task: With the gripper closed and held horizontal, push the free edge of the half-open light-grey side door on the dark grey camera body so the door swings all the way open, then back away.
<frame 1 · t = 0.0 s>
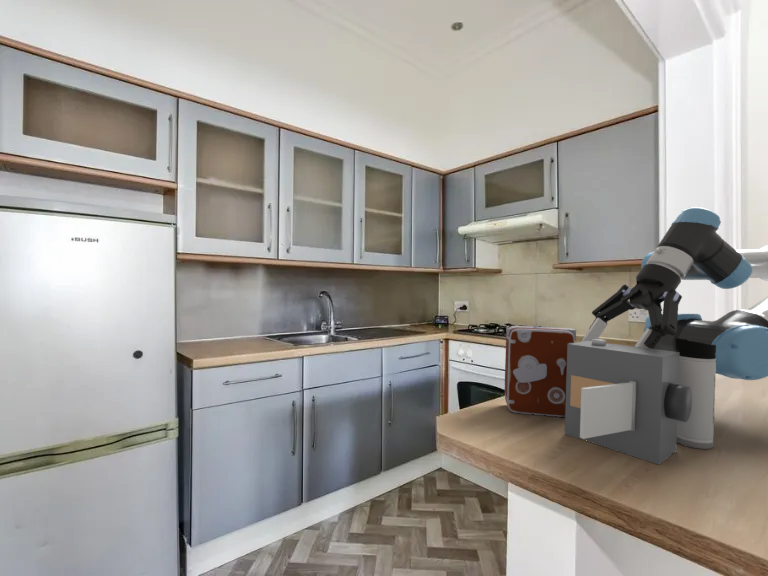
hand: (607, 352, 84), 15 cm above the countertop, tool tilted 35°, fingers open, 14 cm apart
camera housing: (617, 442, 74), on the countertop
red printed tin: (548, 413, 91), on the countertop
travel mug: (690, 443, 75), on the countertop
side door: (609, 409, 65), point 9 cm above the countertop, hinge at 75.0°
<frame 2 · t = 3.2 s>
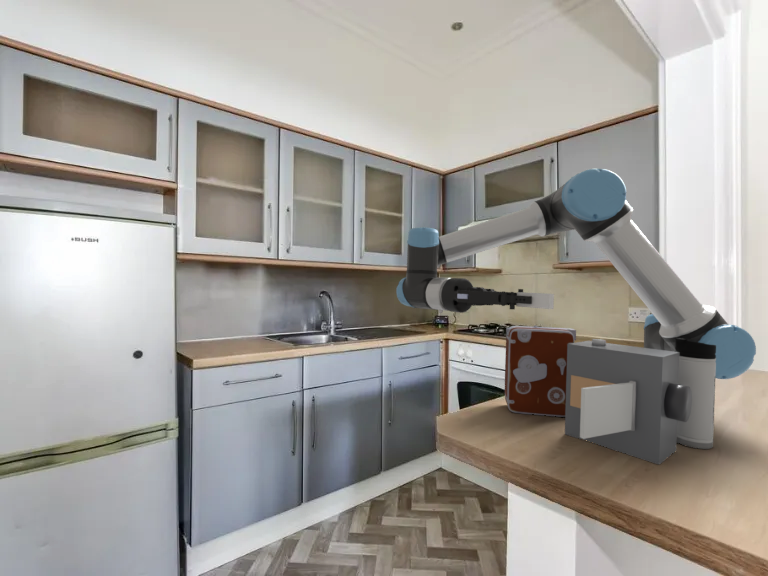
hand: (551, 301, 69), 27 cm above the countertop, tool horizontal, fingers closed
nothing on the countertop moved.
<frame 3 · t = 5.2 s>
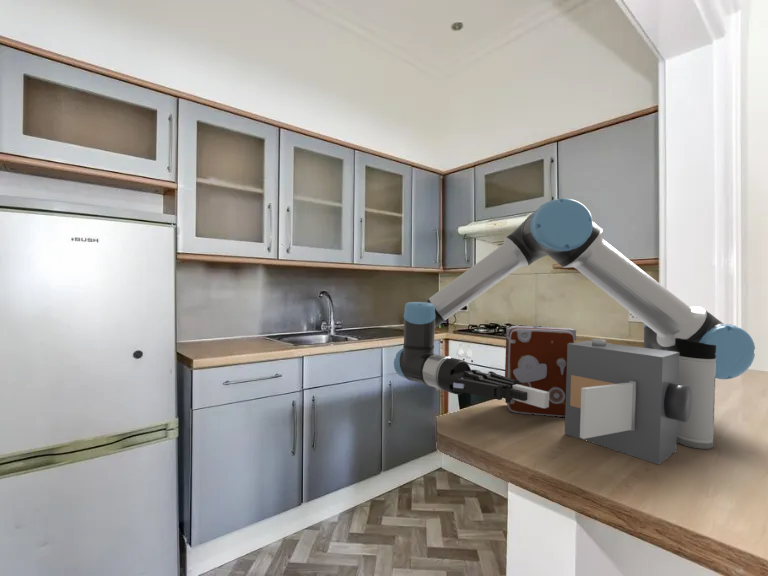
hand: (546, 400, 70), 9 cm above the countertop, tool horizontal, fingers closed
nothing on the countertop moved.
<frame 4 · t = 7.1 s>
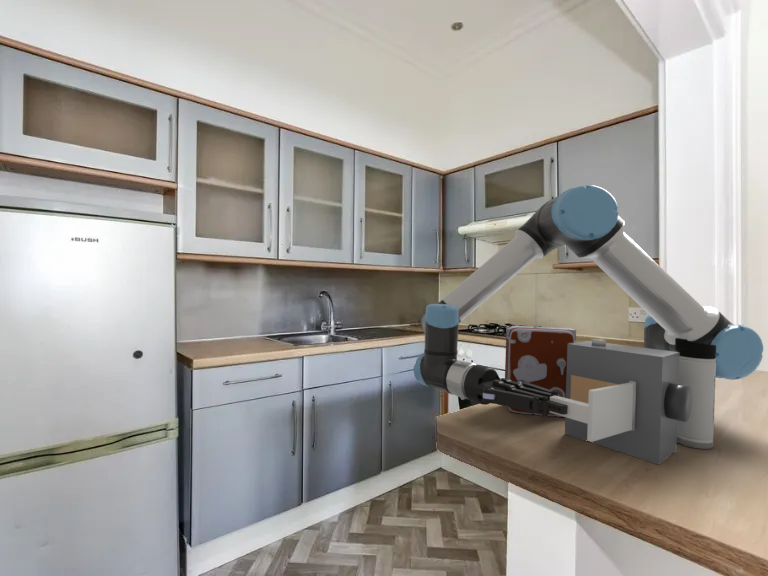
hand: (590, 414, 63), 9 cm above the countertop, tool horizontal, fingers closed
side door: (612, 410, 65), point 9 cm above the countertop, hinge at 81.4°, touching gripper
everything else where it was.
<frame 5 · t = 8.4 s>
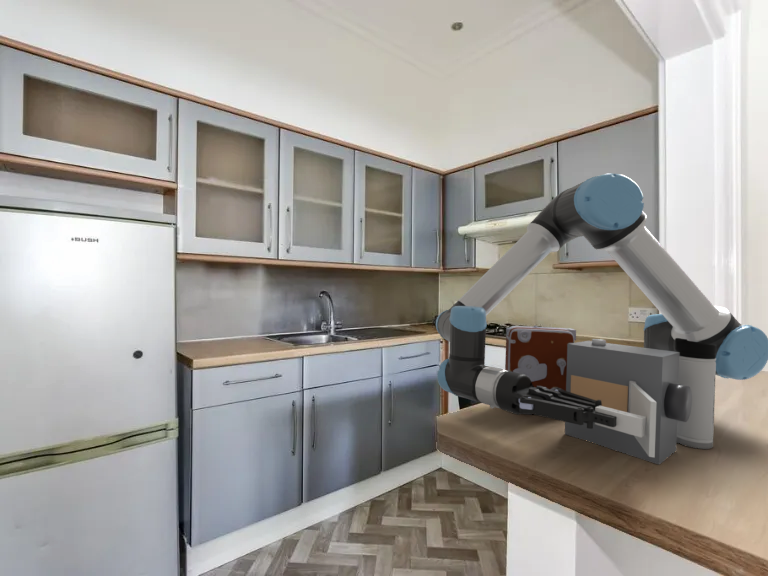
hand: (643, 427, 57), 9 cm above the countertop, tool horizontal, fingers closed
side door: (640, 416, 62), point 9 cm above the countertop, hinge at 121.3°, touching gripper
everything else where it was.
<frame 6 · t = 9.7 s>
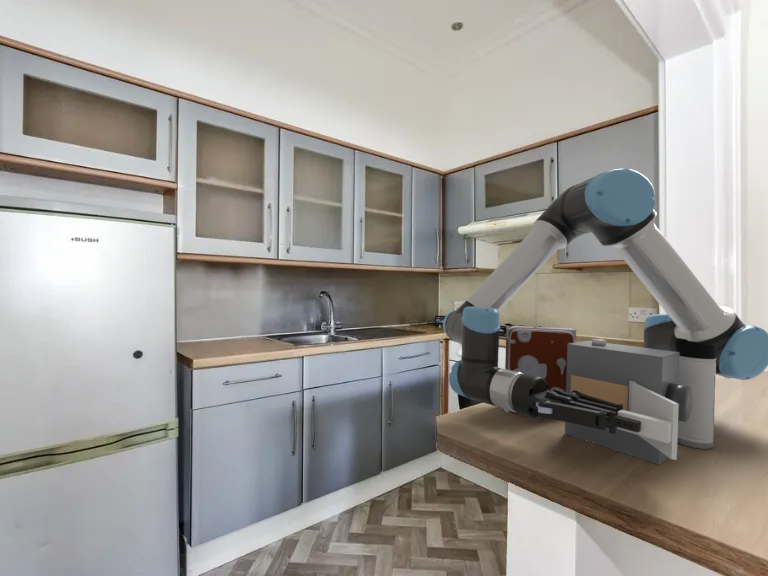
hand: (669, 432, 55), 9 cm above the countertop, tool horizontal, fingers closed
side door: (650, 416, 62), point 9 cm above the countertop, hinge at 134.7°, touching gripper
everything else where it was.
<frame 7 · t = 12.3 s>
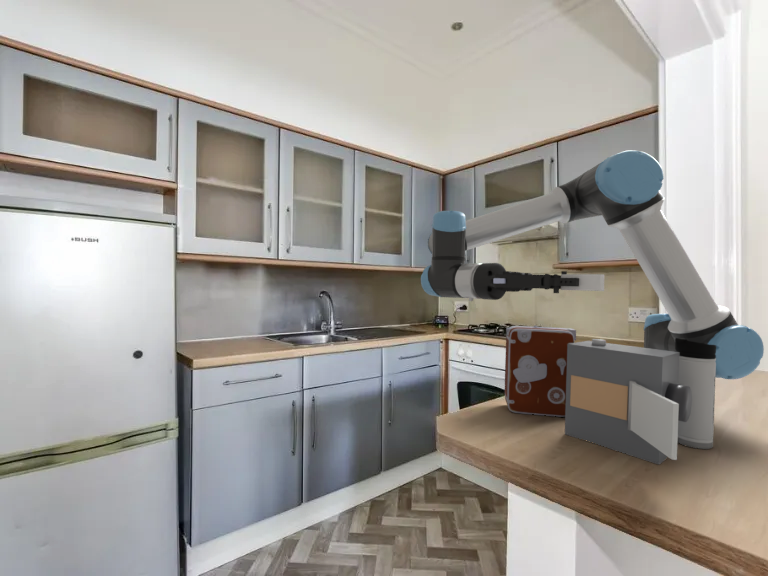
hand: (602, 282, 63), 30 cm above the countertop, tool horizontal, fingers closed
side door: (650, 416, 62), point 9 cm above the countertop, hinge at 134.7°
everything else where it was.
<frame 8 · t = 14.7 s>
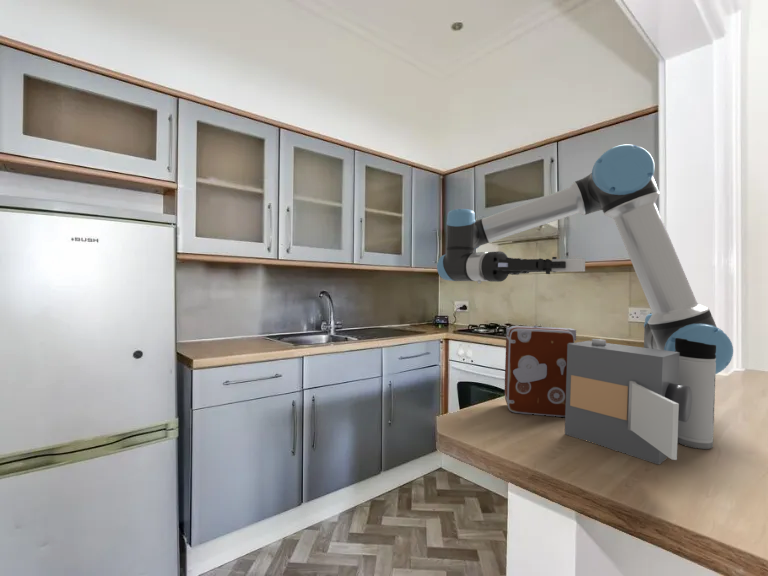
hand: (583, 264, 81), 34 cm above the countertop, tool horizontal, fingers closed
nothing on the countertop moved.
at the end: side door at +135° (first picture: +75°); side door touching nothing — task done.
